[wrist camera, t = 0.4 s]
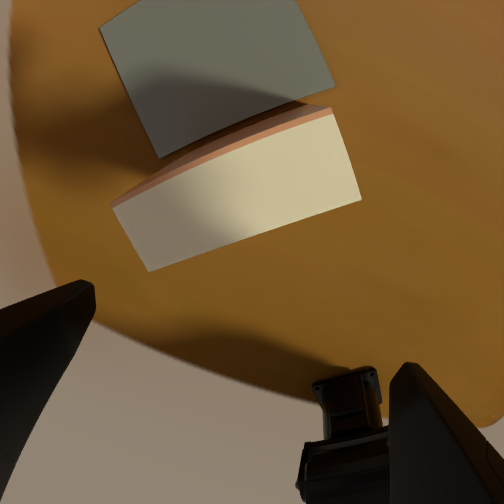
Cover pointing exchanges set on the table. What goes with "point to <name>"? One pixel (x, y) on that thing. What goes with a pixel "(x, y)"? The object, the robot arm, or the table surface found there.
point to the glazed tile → (239, 187)
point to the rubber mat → (212, 63)
